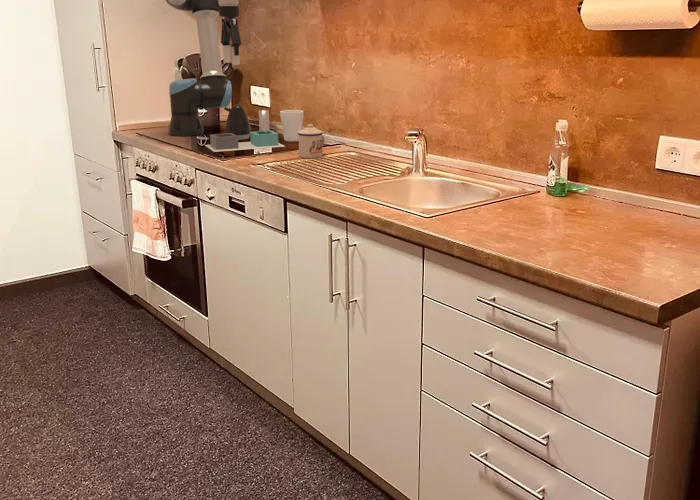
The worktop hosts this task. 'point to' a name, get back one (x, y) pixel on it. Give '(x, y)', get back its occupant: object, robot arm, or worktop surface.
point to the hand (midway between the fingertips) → (231, 63)
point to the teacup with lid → (310, 142)
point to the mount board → (231, 143)
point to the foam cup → (291, 124)
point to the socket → (264, 139)
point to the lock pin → (264, 122)
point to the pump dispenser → (238, 122)
